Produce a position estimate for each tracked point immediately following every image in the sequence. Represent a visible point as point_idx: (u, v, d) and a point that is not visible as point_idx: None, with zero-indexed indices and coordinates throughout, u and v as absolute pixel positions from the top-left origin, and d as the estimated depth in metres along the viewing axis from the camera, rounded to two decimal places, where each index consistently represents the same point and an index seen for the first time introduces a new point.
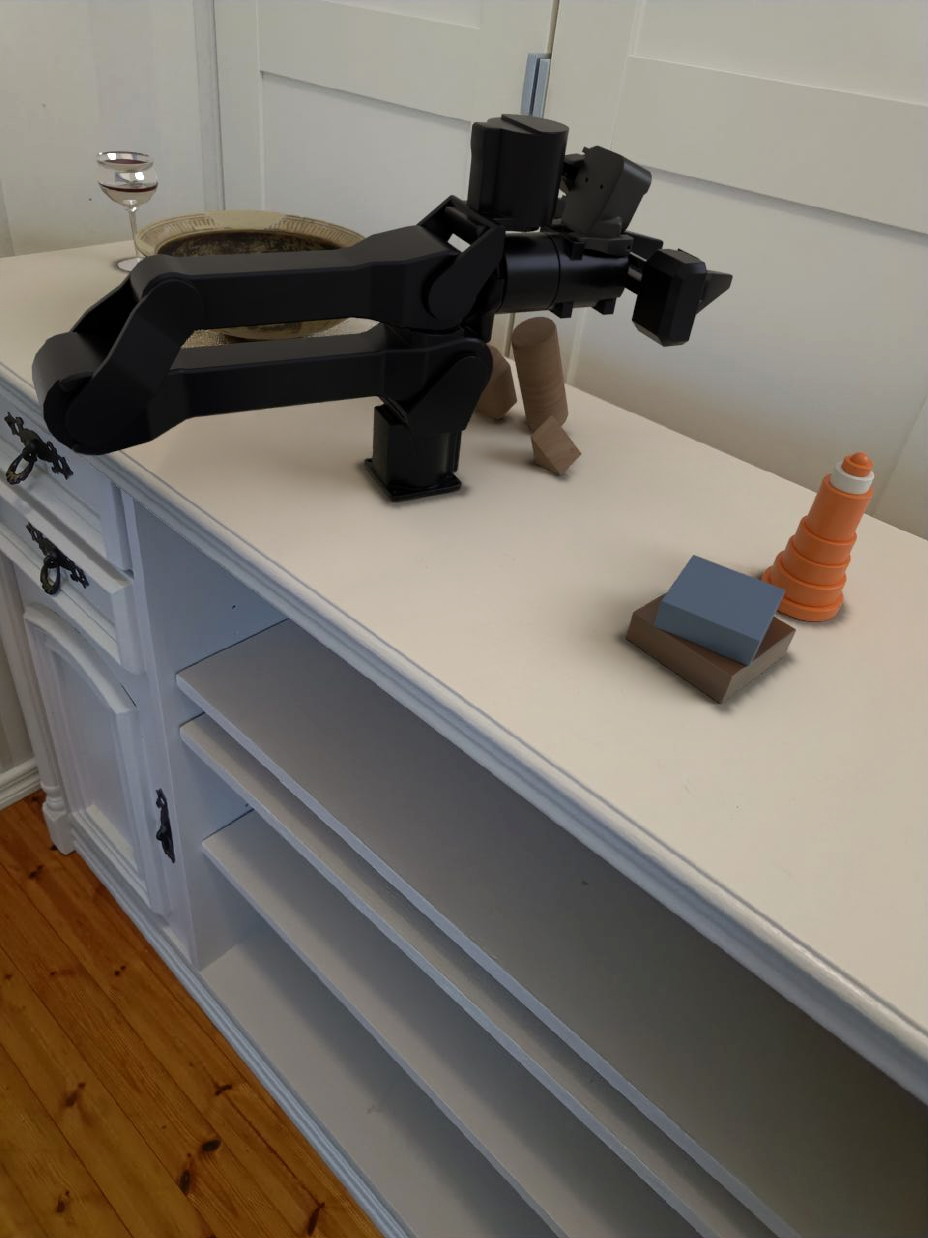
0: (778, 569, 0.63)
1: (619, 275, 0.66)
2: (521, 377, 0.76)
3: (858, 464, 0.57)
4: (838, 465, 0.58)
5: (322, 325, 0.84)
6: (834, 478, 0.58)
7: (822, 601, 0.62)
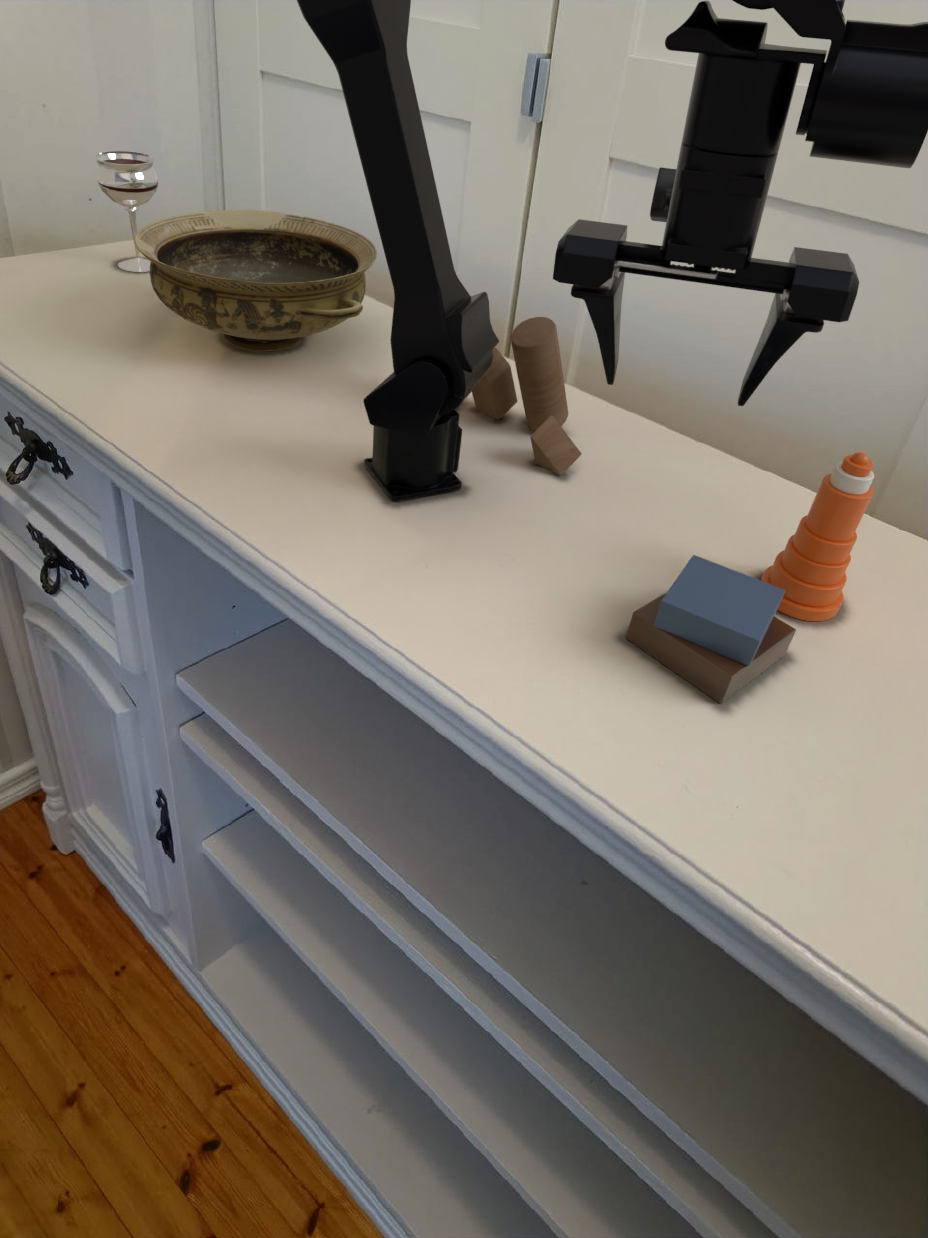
0: (778, 569, 0.63)
1: None
2: (521, 377, 0.76)
3: (858, 464, 0.57)
4: (838, 465, 0.58)
5: (322, 325, 0.84)
6: (834, 478, 0.58)
7: (822, 601, 0.62)
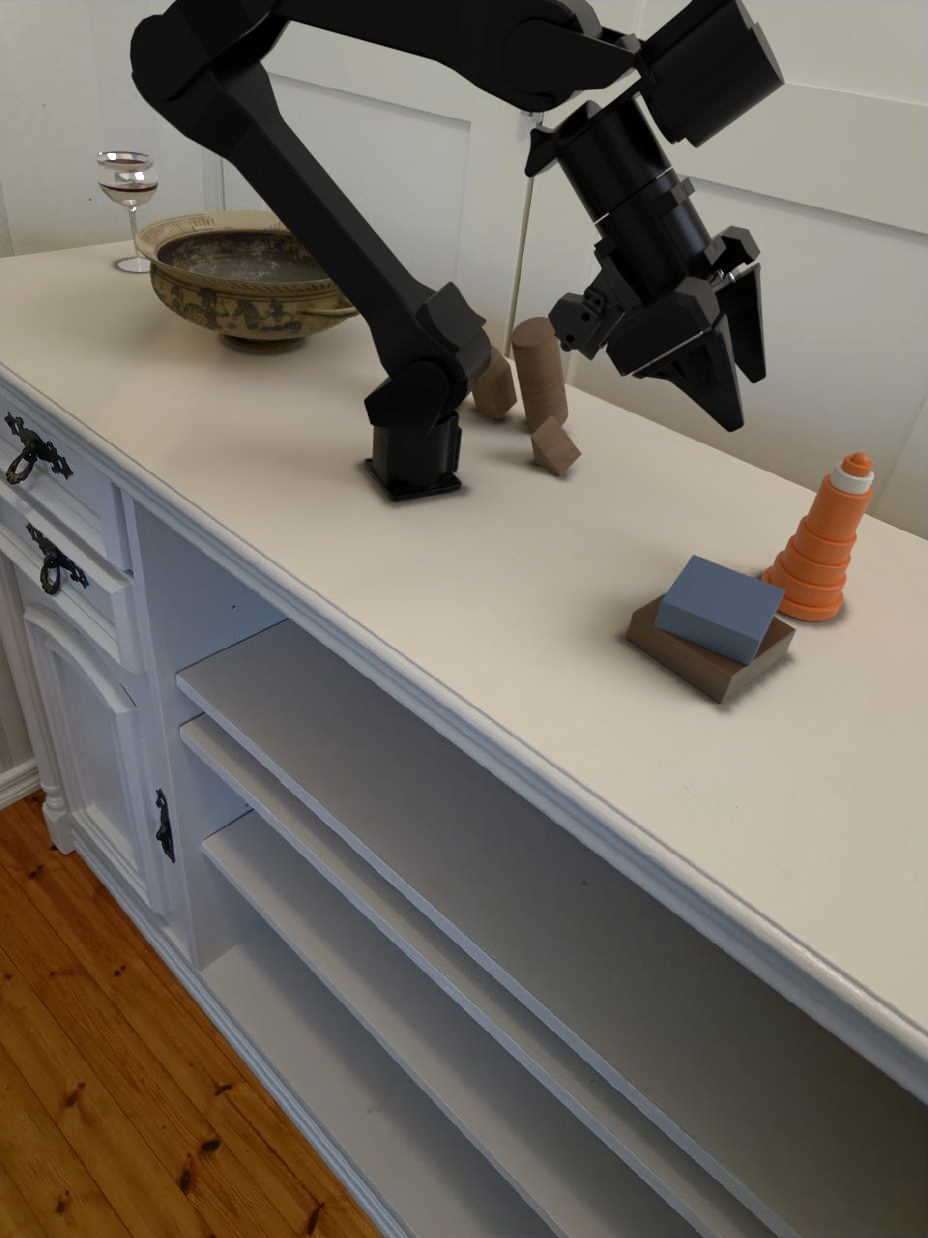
0: (778, 569, 0.63)
1: None
2: (521, 377, 0.76)
3: (858, 464, 0.57)
4: (838, 465, 0.58)
5: (322, 325, 0.84)
6: (834, 478, 0.58)
7: (822, 601, 0.62)
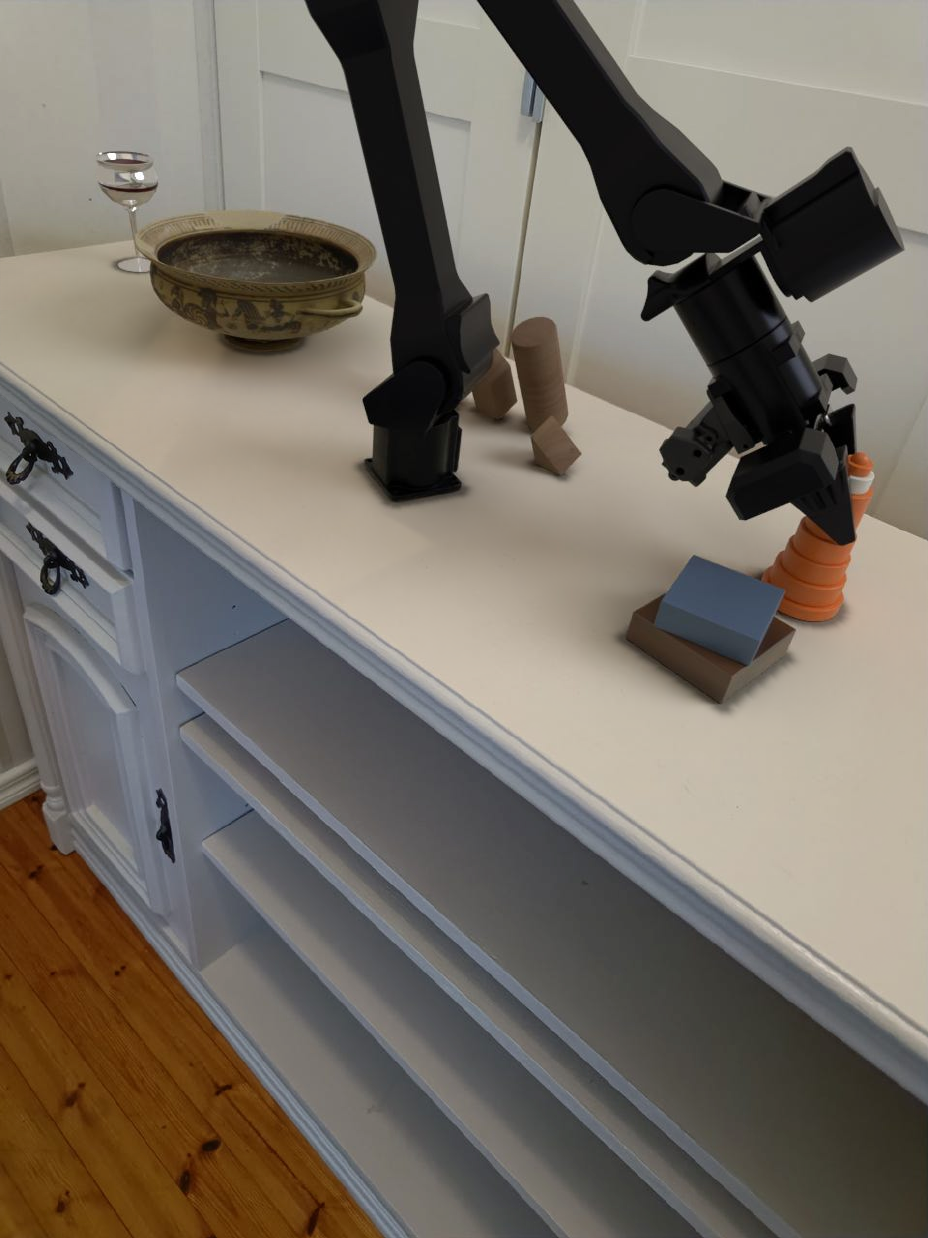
0: (778, 570, 0.63)
1: None
2: (521, 377, 0.76)
3: (858, 464, 0.57)
4: None
5: (322, 325, 0.84)
6: None
7: (822, 601, 0.62)
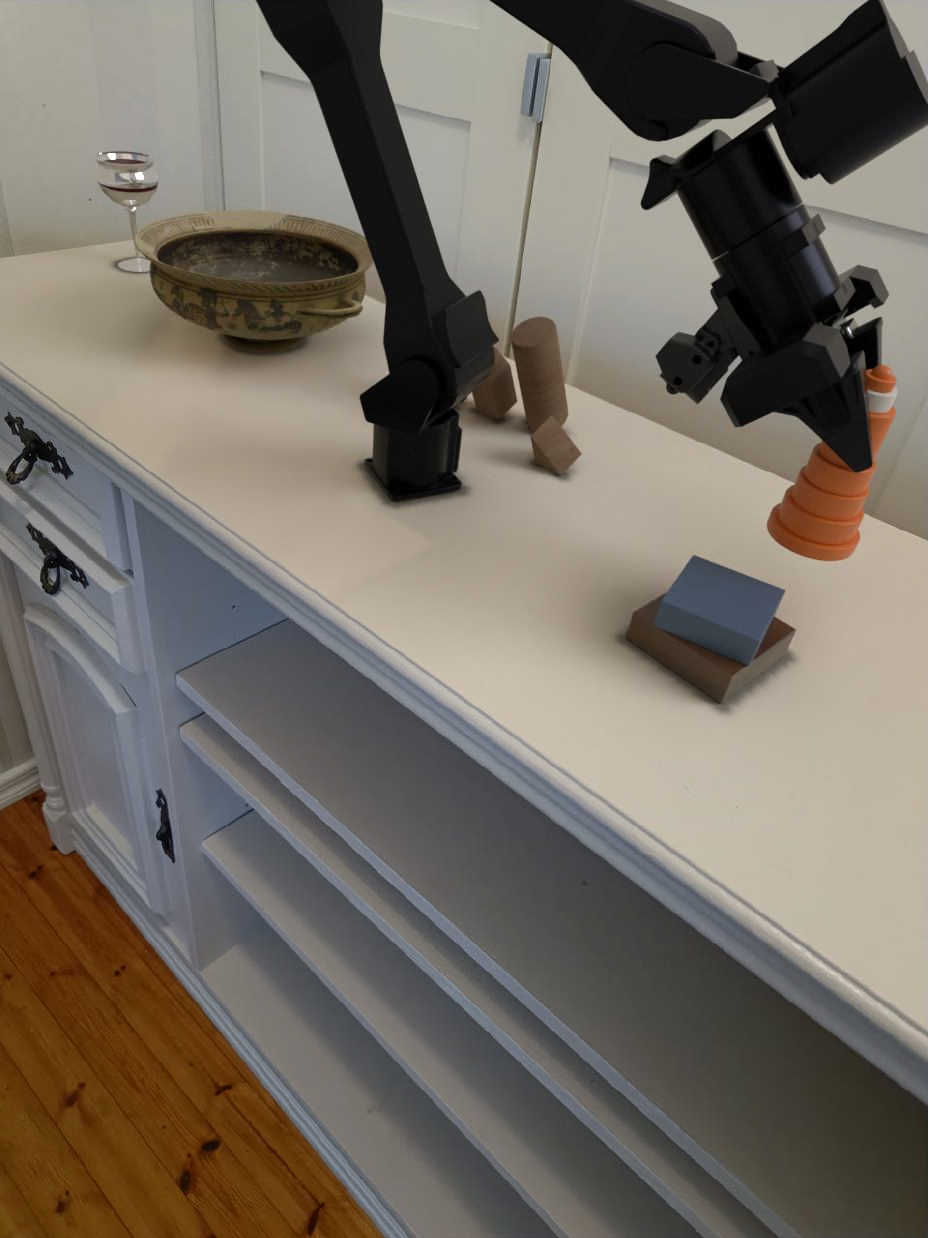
0: (787, 502, 0.57)
1: None
2: (521, 377, 0.76)
3: (879, 378, 0.51)
4: None
5: (322, 325, 0.84)
6: None
7: (834, 538, 0.56)
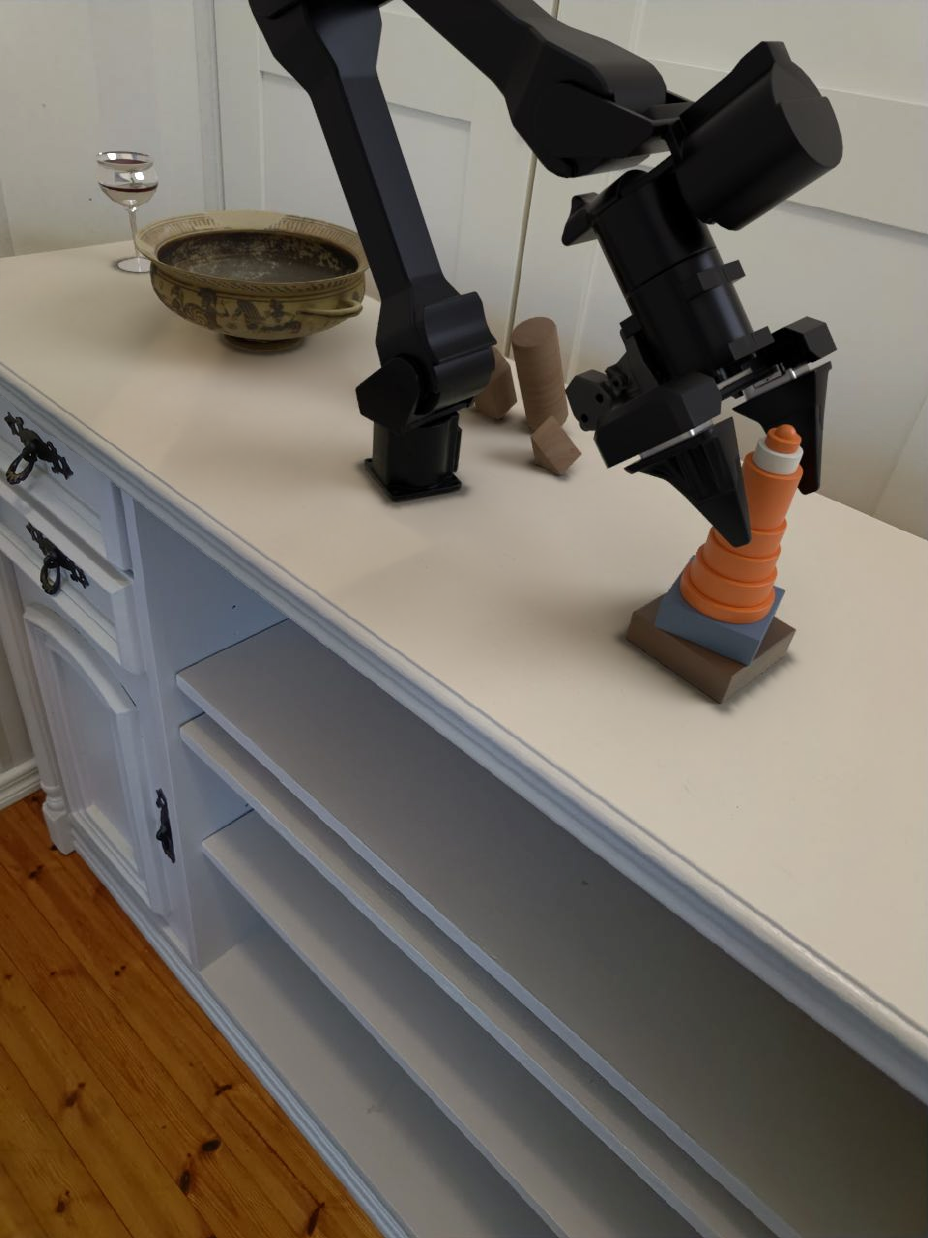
0: (695, 556, 0.55)
1: None
2: (521, 377, 0.76)
3: (780, 437, 0.48)
4: (763, 438, 0.50)
5: (322, 325, 0.84)
6: (755, 452, 0.50)
7: (736, 600, 0.53)
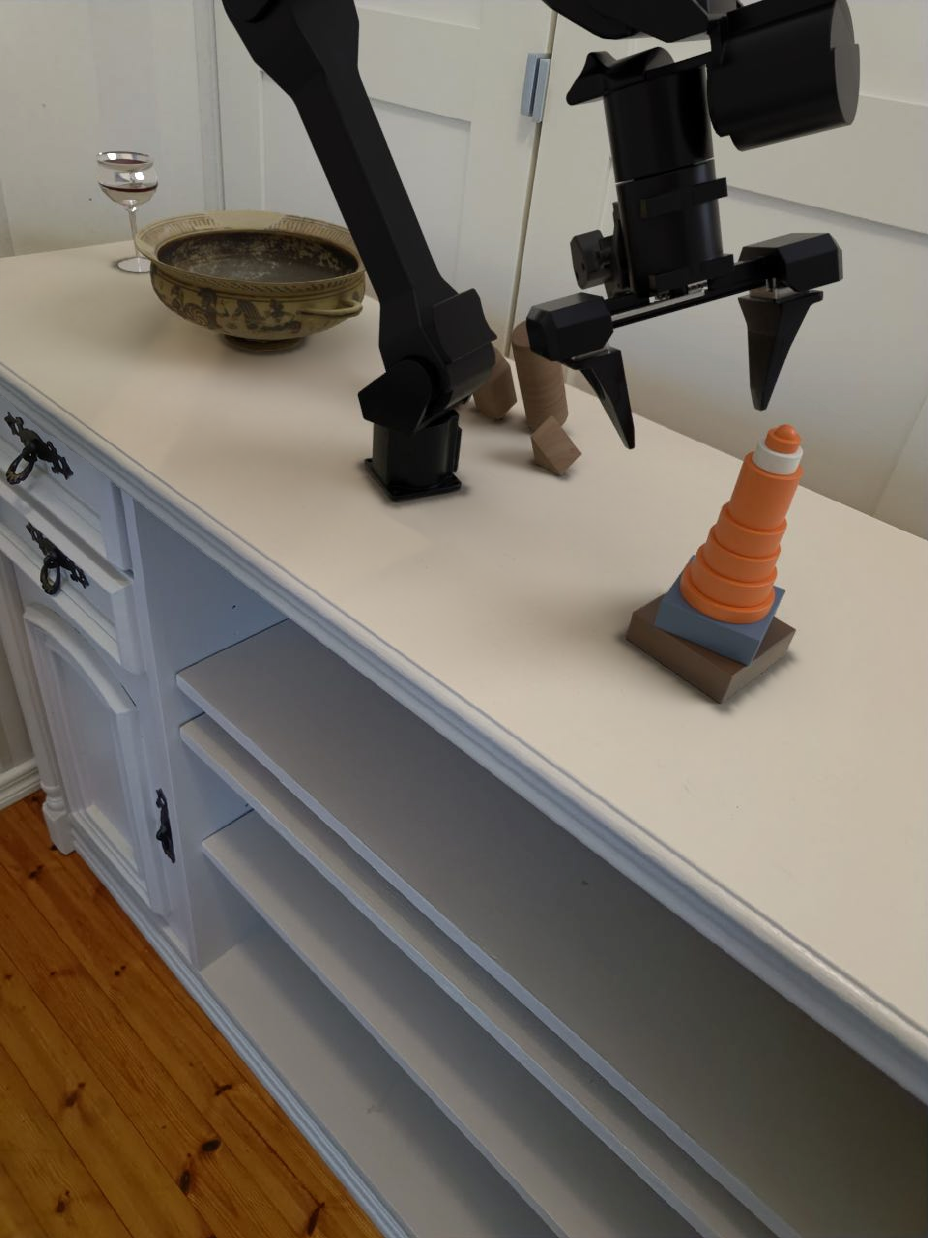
0: (695, 556, 0.55)
1: None
2: (521, 377, 0.76)
3: (780, 437, 0.48)
4: (763, 438, 0.50)
5: (322, 325, 0.84)
6: (755, 452, 0.50)
7: (736, 600, 0.53)
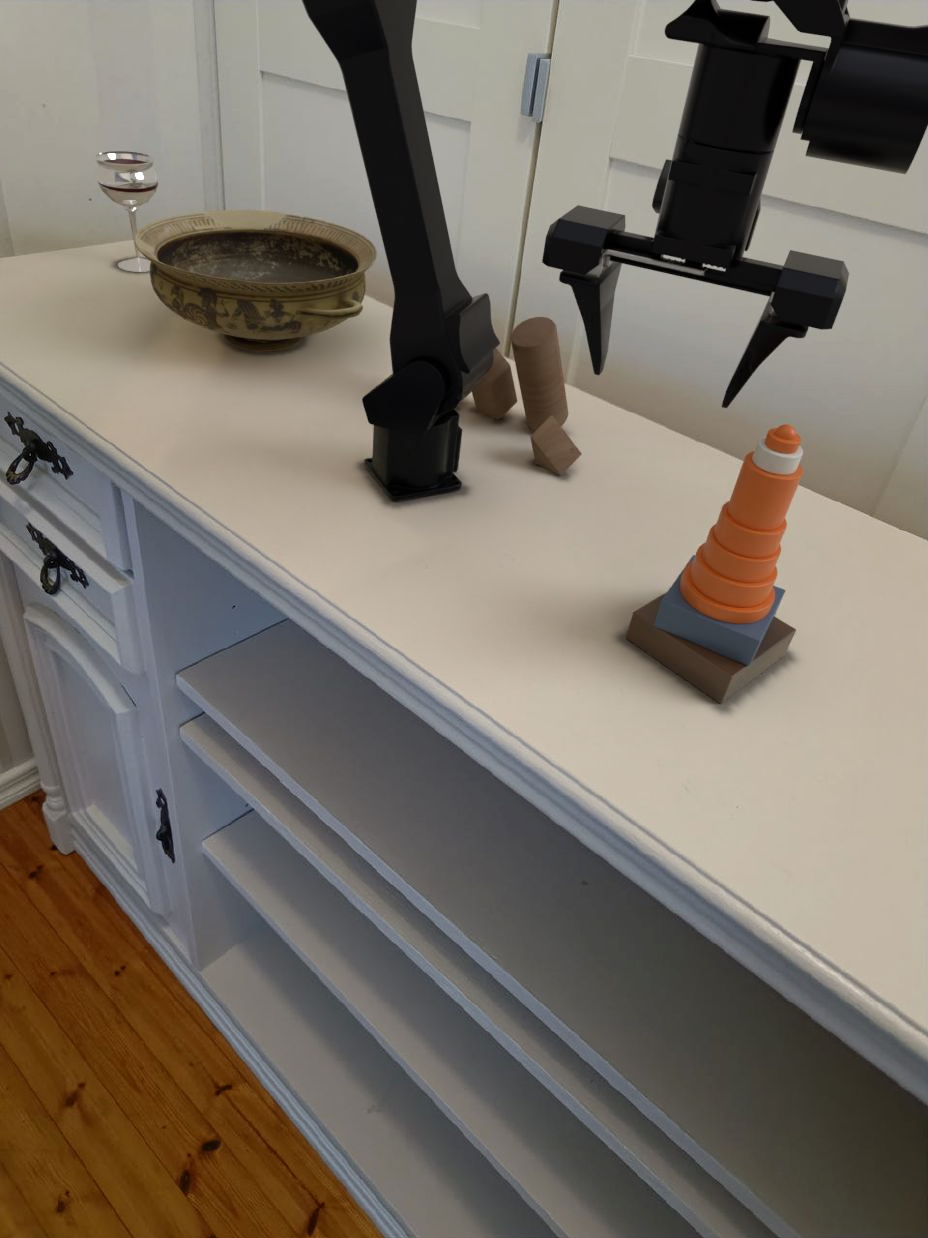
0: (695, 556, 0.55)
1: (745, 248, 0.53)
2: (521, 377, 0.76)
3: (780, 437, 0.48)
4: (763, 438, 0.50)
5: (322, 325, 0.84)
6: (755, 452, 0.50)
7: (735, 600, 0.53)
